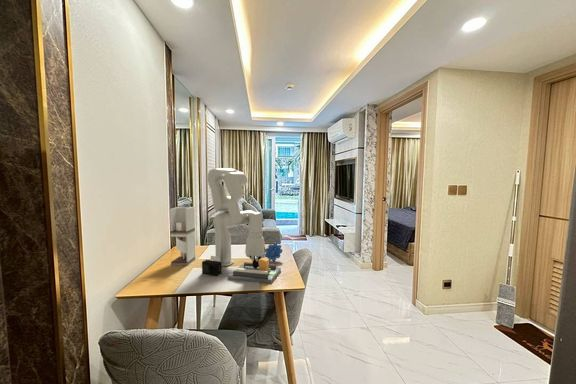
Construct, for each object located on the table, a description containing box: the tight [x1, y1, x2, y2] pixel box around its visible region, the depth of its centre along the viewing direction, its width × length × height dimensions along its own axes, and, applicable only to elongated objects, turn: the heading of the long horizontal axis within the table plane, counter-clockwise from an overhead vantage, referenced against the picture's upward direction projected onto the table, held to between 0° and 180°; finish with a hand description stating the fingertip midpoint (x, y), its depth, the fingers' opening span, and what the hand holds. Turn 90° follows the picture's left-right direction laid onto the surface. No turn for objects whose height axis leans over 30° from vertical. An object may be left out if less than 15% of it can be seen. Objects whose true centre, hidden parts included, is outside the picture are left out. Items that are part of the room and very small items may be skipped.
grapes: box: [264, 242, 283, 262], centre depth 167 cm, size 12×7×12 cm, turn 94°
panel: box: [227, 264, 282, 284], centre depth 141 cm, size 24×18×3 cm
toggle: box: [259, 257, 271, 273], centre depth 140 cm, size 6×5×7 cm
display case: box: [169, 206, 196, 266], centre depth 163 cm, size 11×11×35 cm
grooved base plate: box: [232, 261, 277, 278], centre depth 141 cm, size 19×16×3 cm
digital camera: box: [201, 259, 223, 277], centre depth 143 cm, size 10×5×7 cm, turn 66°
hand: (255, 267), depth 141 cm, fingers closed
